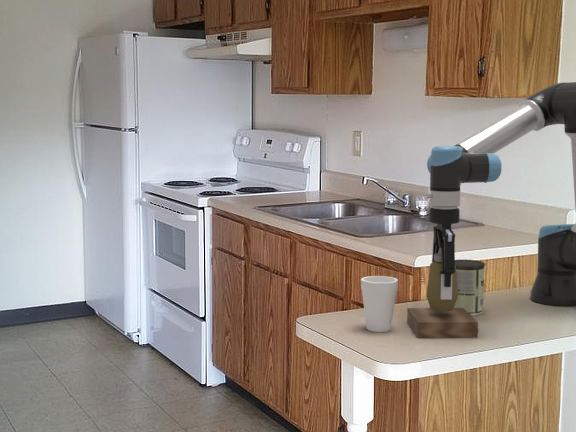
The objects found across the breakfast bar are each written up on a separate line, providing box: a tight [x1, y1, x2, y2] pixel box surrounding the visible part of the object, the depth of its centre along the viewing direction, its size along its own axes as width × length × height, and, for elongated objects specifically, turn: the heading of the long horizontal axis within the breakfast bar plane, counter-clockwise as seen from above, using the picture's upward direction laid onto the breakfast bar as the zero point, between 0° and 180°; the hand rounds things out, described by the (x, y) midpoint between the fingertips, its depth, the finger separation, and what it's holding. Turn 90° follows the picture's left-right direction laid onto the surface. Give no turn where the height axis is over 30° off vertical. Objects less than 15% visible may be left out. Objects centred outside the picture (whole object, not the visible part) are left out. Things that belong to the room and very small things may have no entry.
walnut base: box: [406, 307, 479, 339], centre depth 206 cm, size 15×15×4 cm
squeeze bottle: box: [426, 248, 458, 312], centre depth 204 cm, size 8×8×18 cm
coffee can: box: [454, 259, 486, 317], centre depth 225 cm, size 10×10×14 cm
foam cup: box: [360, 275, 399, 333], centre depth 206 cm, size 10×9×13 cm
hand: (442, 295), depth 205 cm, fingers closed on squeeze bottle, 8 cm apart
